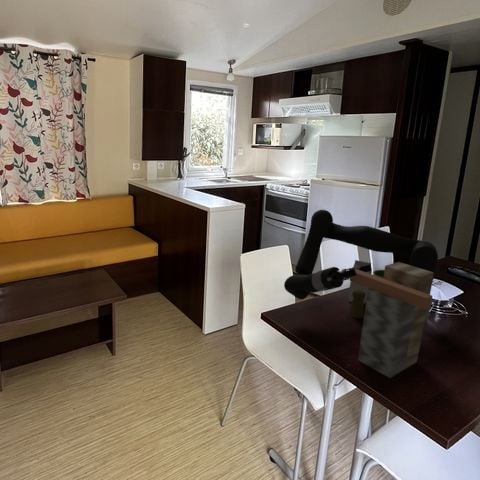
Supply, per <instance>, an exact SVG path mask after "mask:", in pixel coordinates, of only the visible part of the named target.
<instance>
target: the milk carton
mask: <svg viewBox="0 0 480 480" xmlns="http://www.w3.org/2000/svg"><path fill="white" fill-rule="evenodd" d="M366 265H370V266H371V269H373V268H372V262H367V261H363V260H358V259H355V260H354V264H353V267H354V268H358V267H361V266H366ZM366 273H369V274H372V273H373V271H369V272H366ZM349 282H350V284H349V288H348V289H349V292H348V298H347V302H350V303H352V301H353V296H352V294H353V291H354V290H362V291H364V292H365V298H364V299H363V302H364V305H366V300H367V293H368V291H369V290H370V288H367V287H364V286H362V285H359V284H357V283H354V282H351V281H349Z"/></svg>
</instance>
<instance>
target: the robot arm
mask: <svg viewBox="0 0 480 480" xmlns="http://www.w3.org/2000/svg"><path fill="white" fill-rule="evenodd" d="M323 239H329V240H334V241H339V242H343V243H345V244H349V245H352V246H357V247H359V248H363V249H366V250H369V251H373V252H378V253H386V254H387V253H388V254H389V253H390V254H398V255H401V256H403V257H406V258H410V263H409V265H411V266H414V267H417V268H420V269H424V270H427V271H430V272H434V274H433V280H434V278H435V275H436V270H437V266H438V265H437V264H438V259H439V254H438V251H437V249H436V247H435V245H434V244H433V243H431V242H430V241H429V242H428V241H426V240H420V239H413V238H408V237H403V236H400V235H397V234H394V233H392V232H388V231H386V230H382V229H379V228H375V227H372V226H367V225H356V226H355V225H354V226H348V225H347V226H346V225H345V226H344V225H341V224H337V223H335V222H334V219H333V215H332V213H331V212H329V211H328V210H325V209H319V210H316V211H314V213H313V214H312V215H311V219H310V227H309V230H308V234H307V237H306V239H305V244H304V245H303V248H302V250H301V252H300V255H299V258H298V260H297V263H296V265H295V268H294V269H295V273H296V274H294V275H290V276H288V278H286V280H285V281H284V284H283V287H284V289H285V291H286V292H287V293H289V295H292V296H294V297H295V298H296V299H298V300H305V299H306V298H307V297H308V296H309V295H310V294H313V293H314V294H315V293H319V292H325V291H329V290H334V289H339V288H341V287H342V286H343V284H344V282H345V281H350V277H352V276H356V271H355V270H357V269H358V270H361V271H363V272H369V271H372V269H373V268H372V265H371V266H370V265H366V266H361V267H358V268H354V267H349V268H343V269H340V268H338V267H337V266H332V267H329V268H328V267H327V268H324V269H321V270H318V271H316V272H314V269H315V266H316V264H317V261H318V258H319V252H320V249H321V246H322V242H323ZM371 268H372V269H371ZM313 272H314V273H313ZM372 272H373V271H372ZM433 280H432V283H433ZM432 286H433V284H432V285H431V288H432ZM431 291H432V289H431V290H430V293H431ZM430 309H431V307H429V308H427V311H426V316H425V322H424V325H425V324H427V323H428V320H429V314H430Z"/></svg>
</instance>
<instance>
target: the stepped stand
mask: <svg viewBox="0 0 480 480" xmlns="http://www.w3.org/2000/svg"><path fill="white" fill-rule="evenodd" d="M383 270H384V277H383V279H386V280H389V281H392V282H395V283H398V284H401V285H404V286H406V287H409V288H412V289H415V290H418V291H421V292H424V293H426V294H429V295H431V292H430V290H431V291H432V287H431V285H432V286H433V282H432V280H434V279H433V274H434V272H430V271H427V270H424V269H420V268H417V267H414V266H411V265H410V264H407V263H403V262H400V261H397V262H394V263H390V264H387V265H384V269H383ZM426 311H427V309H422V308H419V307H417V306H414V305H411V304H409V303H406V302H403V301H401V300H398V299H396V298H393V297H390V296H388V295H385V294H383V293H380V292H377V291H375V290H372V289H369V291H368V293H367V300H366V302H365V308H364V316H363V320H362V328H361V335H360V343H359V347H358V349H359V350H358V356H357V357H358V358H357V361H359V362H360V363H362V364H364V365H366V366H367V367H369V368H371V369H373V370H375V371H376V372H379V373H380V374H381V375H384V376H386V377H387V378H389V379H392V378H393V377H395V376H396V375H398V374H400V373H401V372H403V371H404V370H406V369H408V368H410V367H411V366H413V365H414V364H416V363H418V358H419V354H420V353H419V352H420V348H421V342H422V338H423V337H422V336H423V331H424V326H425V324H424V322H425V316H426Z"/></svg>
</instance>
